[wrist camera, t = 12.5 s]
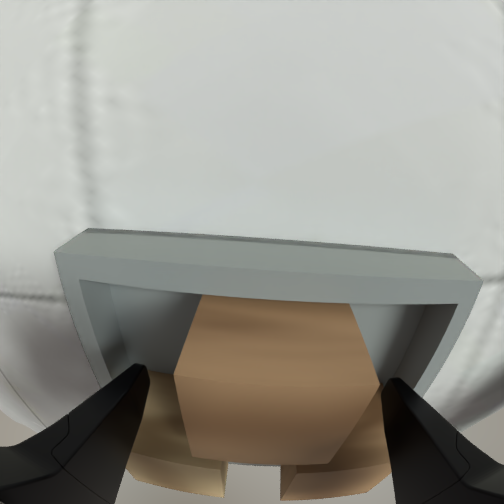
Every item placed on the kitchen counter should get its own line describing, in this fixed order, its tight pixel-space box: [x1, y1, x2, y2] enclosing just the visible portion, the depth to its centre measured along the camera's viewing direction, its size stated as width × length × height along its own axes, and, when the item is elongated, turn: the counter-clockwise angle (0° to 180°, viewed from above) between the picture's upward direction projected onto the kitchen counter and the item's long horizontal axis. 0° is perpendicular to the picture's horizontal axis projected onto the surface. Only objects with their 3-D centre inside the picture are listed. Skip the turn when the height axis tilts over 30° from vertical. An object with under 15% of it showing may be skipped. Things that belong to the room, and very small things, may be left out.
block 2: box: [173, 294, 380, 465], centre depth 9 cm, size 5×5×5 cm
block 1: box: [126, 370, 228, 498], centre depth 12 cm, size 5×5×5 cm
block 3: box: [280, 383, 392, 501], centre depth 12 cm, size 5×5×5 cm
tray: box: [54, 228, 483, 466], centre depth 12 cm, size 16×14×2 cm
